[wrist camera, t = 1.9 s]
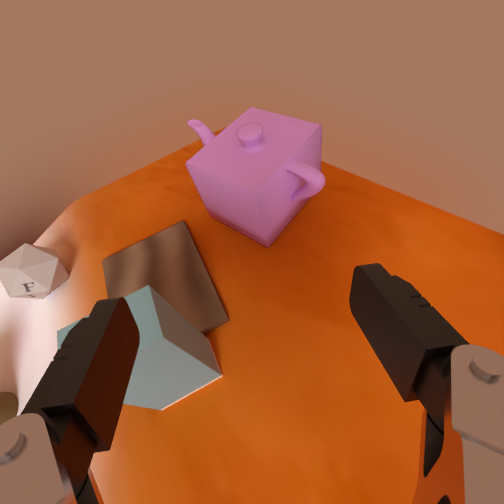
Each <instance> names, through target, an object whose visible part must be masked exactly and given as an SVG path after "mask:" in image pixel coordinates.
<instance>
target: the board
mask: <svg viewBox="0 0 504 504" xmlns="http://www.w3.org/2000/svg"><path fill="white" fill-rule="evenodd" d="M102 263H103V269H104V275H105V282H106V288H107V294H108V299H111V298H119V297H126V296H128V295H130V294H132V293H134V292H136V291H138V290H140V289H142V288H144V287H145V286H147V285H149V286H151V287H152V288H153V289H154V290H155V291H156V292H157V293H158V294H159V295H160V296H162V297H163V298H164V299H165V300H166V301H167V302H168V303H169V304H170V305H171V306H172V307H174V308H175V309H176V310H177V311H178V312H179V313H180V314H181V315H182V316H183V317H185V318H186V319H187V320H188V321H189V322H190V323H191V324H192V325H193V326H194V327H195V328H197V329H198V330H199V331H200V332H201V333H202V334H205V333H207V332H209V331H211V330H213V329H215V328H216V327H218V326H220V325H222V324H224V323H226V322H228V321H229V318H228V316H227V313H226V311H225V309H224V307H223V305H222V302H221V300H220V298H219V296H218V294H217V291H216V289H215V287H214V285H213V283H212V280H211V278H210V276H209V274H208V271H207V269H206V267H205V265H204V263H203V260H202V258H201V256H200V254H199V252H198V249H197V247H196V245H195V243H194V240H193V238H192V236H191V234H190V232H189V229H188V227H187V225H186V223H185V222H184V220H183V221H181V222H179V223H177V224H175V225H173V226H171V227H169V228H167V229H165V230H163V231H161V232H159V233H157V234H155V235H153V236H150V237H148V238H146V239H144V240H142V241H140V242H138V243H136V244H134V245H132V246H130V247H128V248H126V249H124V250H122V251H120V252H118V253H116V254H113V255H111V256H109V257H107V258H105V259H103V260H102Z"/></svg>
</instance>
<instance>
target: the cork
mask: <svg viewBox="0 0 504 504" xmlns="http://www.w3.org/2000/svg"><path fill="white" fill-rule="evenodd" d="M17 411H18V400H17V397H16V396H15V395H14V394H13V393H9V392H0V425H1V424H3V423H4V422H6V421H8V420H10V419H12V418H14V417H16V415H17Z"/></svg>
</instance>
